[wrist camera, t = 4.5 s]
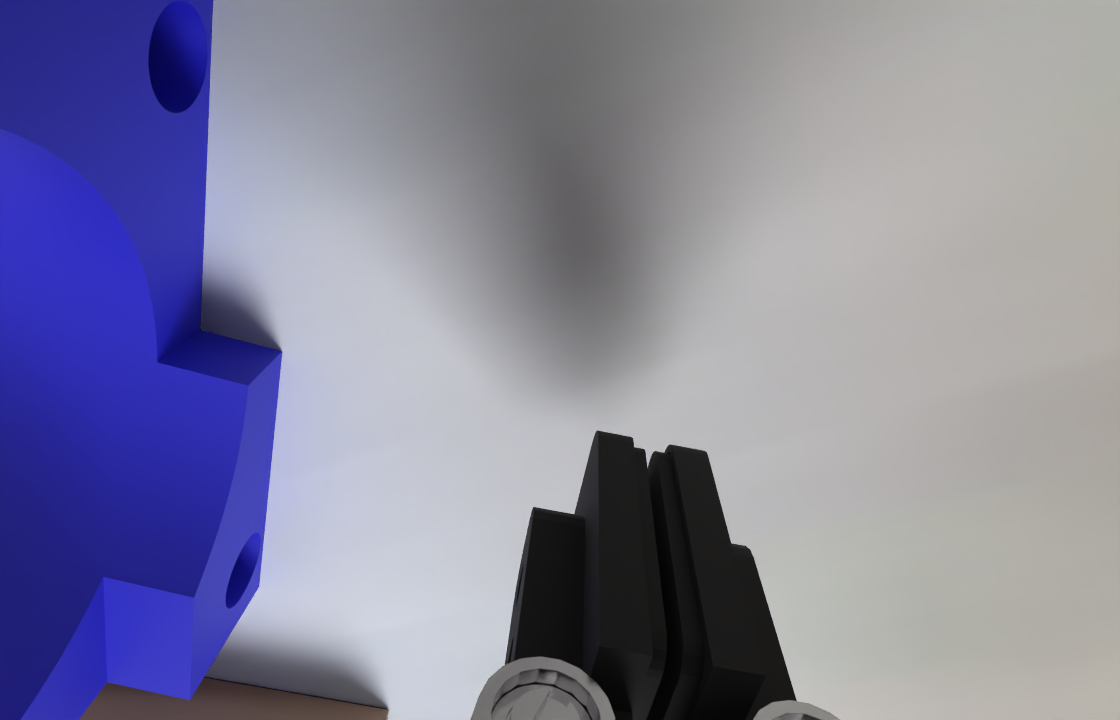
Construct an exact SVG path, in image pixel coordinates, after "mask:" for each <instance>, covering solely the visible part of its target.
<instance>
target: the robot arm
mask: <svg viewBox="0 0 1120 720" xmlns="http://www.w3.org/2000/svg"><path fill="white" fill-rule="evenodd" d="M471 720H840V719H838V718H837V717H835V716H834V715H832V714H831V713H830V712H827V711H825V710H823V709H820V708H818V707H816V706H814V705H811V704H809V703H803V702H798V701H796V697H795V694H794V691H793V687H792V684H791V681H790V677H789V674H788V671H787V667H786V664H785V661H784V657H783V654H782V651H781V647H780V644H779V641H778V637H777V634H776V631H775V627H774V624H773V621H772V617H771V614H770V611H769V607H768V604H767V601H766V597H765V594H764V591H763V587H762V584H761V581H760V577H759V574H758V571H757V567H756V564H755V561H754V557H753V555H752V553H751V551H750V549H749V548H747V547H746V546H742V545H737V544H731V541H730V537H729V534H728V530H727V526H726V522H725V519H724V515H723V511H722V507H721V503H720V500H719V496H718V492H717V488H716V484H715V481H714V477H713V473H712V469H711V466H710V462H709V458H708V455H707V453H706V452H705V451H702V450H697V449H691V448H686V447H681V446H676V445H669V446H668V447H667V448H666V450H665V453H662V452H657V451H654V452H653V454H652V456H651V459H650V462H649V465H648V469H647V462H646V453H645V450H644V449H641V448H635V447H634V442H633V438H632V437H628V436H623V435H618V434H612V433H607V432H602V431H596V433H595V436H594V439H593V443H592V446H591V450H590V454H589V458H588V462H587V466H586V470H585V474H584V478H583V482H582V486H581V490H580V494H579V498H578V502H577V506H576V510H575V514H569V513H563V512H558V511H552V510H547V509H541V508H536V507H533V509H532V513H531V517H530V521H529V526H528V530H527V535H526V540H525V544H524V549H523V554H522V559H521V564H520V569H519V575H518V580H517V586H516V592H515V599H514V605H513V612H512V619H511V626H510V633H509V640H508V647H507V654H506V660H505V665H504V666H502V667H501V668H500V669H499V670H498V671H497V672H496V673H494V674H493V675H492V676H491V677H490V678H489V679H488V681H487V682H486V684H485V686H484V688H483V689H482V691H481V693H480V695H479V697H478V700H477V703H476V706H475V709H474V711H473V714H472V717H471Z"/></svg>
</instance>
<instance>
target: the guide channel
mask: <svg viewBox="0 0 1120 720" xmlns="http://www.w3.org/2000/svg"><path fill="white" fill-rule="evenodd" d="M388 711H389V710H386V709H380V708H375V707H369V706H363V705H358V704H352V703H346V702H340V701H335V700H329V699H323V698H318V697H312V696H306V695H301V694H295V693H289V692H283V691H278V690H272V689H266V688H261V687H255V686H249V685H243V684H238V683H232V682H226V681H221V680H215V679H209V678H203V679H202V681H201V683H200V684H199V686H198V688H197V689H196V691H195V692H194V694H193V696H192V697H191V699H190V700H186V699H182V698H177V697H172V696H168V695H163V694H159V693H154V692H150V691H145V690H141V689H136V688H132V687H127V686H122V685H118V684H113V683H109V682H107V683H106V684H105V686H104V687H103V688H102V690H101V691H100V692H99V694H98V695H97V696H96V698H95V699H94V700H93V702H92V703H91V704H90V706H89V707H88V708H87V710H86V711H85V712H84V714H83V715H82V716H81V718H80V719H79V720H387V719H388Z"/></svg>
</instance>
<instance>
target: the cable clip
mask: <svg viewBox="0 0 1120 720" xmlns="http://www.w3.org/2000/svg"><path fill="white" fill-rule="evenodd" d="M212 14H213V0H0V720H79V719H80V718H81V716H82V715H83V714H84V712H85V711H86V710H87V708H88V707H89V706H90V704H91V703H92V702H93V700H94V699H95V698H96V696H97V695H98V694H99V692H100V691H101V690H102V688H103V687H104V686H105V684H106V683H107V682H109V683H113V684H118V685H122V686H127V687H132V688H136V689H141V690H145V691H150V692H154V693H159V694H163V695H168V696H172V697H177V698H182V699H186V700H190V699H191V697H192V696H193V694H194V692H195V691H196V689H197V688H198V686H199V684H200V683H201V681H202V679H203V678H204V676H205V674H206V673H207V671H208V669H209V668H210V666H211V665H212V663H213V661H214V660H215V658H216V656H217V655H218V653H219V651H220V650H221V648H222V647H223V645H224V643H225V642H226V640H227V638H228V637H229V635H230V633H231V632H232V630H233V628H234V627H235V625H236V624H237V622H238V620H239V619H240V617H241V615H242V614H243V612H244V610H245V609H246V607H247V605H248V604H249V602H250V601H251V599H252V597H253V596H254V594H255V592H256V591H257V589H258V587H259V581H260V571H261V561H262V551H263V541H264V531H265V521H266V511H267V500H268V490H269V480H270V470H271V460H272V450H273V440H274V430H275V420H276V409H277V399H278V389H279V379H280V369H281V359H282V351H279V350H275V349H271V348H267V347H263V346H260V345H256V344H252V343H248V342H244V341H240V340H236V339H233V338H229V337H225V336H221V335H217V334H213V333H209V332H206V331H202V330H200V326H201V300H202V274H203V248H204V222H205V196H206V170H207V144H208V118H209V92H210V66H211V40H212Z"/></svg>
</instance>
